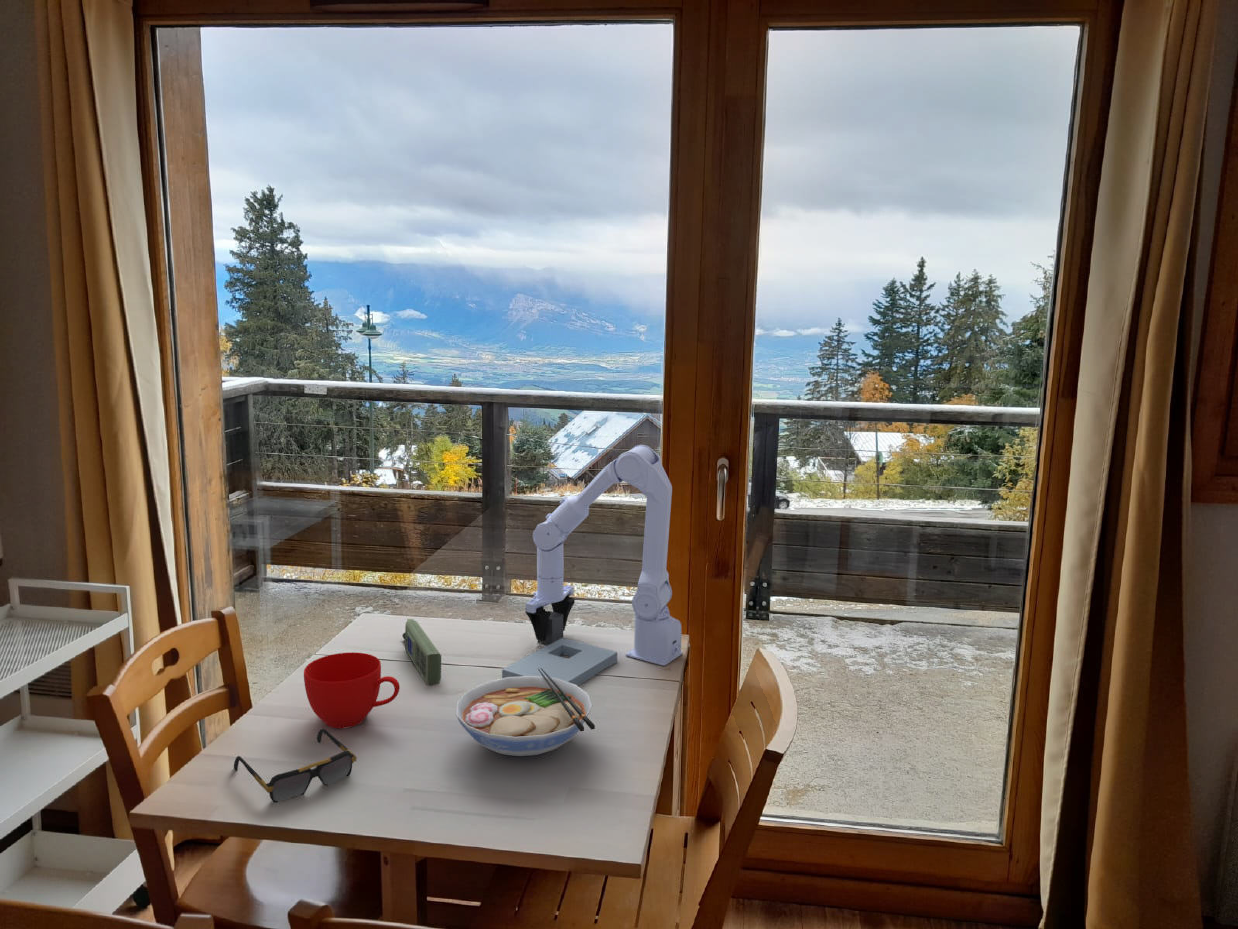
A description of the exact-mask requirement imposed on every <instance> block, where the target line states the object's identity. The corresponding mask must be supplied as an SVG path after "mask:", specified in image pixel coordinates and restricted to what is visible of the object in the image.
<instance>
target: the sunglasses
mask: <svg viewBox="0 0 1238 929" xmlns="http://www.w3.org/2000/svg"><path fill="white" fill-rule="evenodd" d="M323 734H324V735H326V736H327V737H328V738H329V740H330V741H331V742H333V744H335V746H337V747H338V748H339V749H340V750H341V752H340V753H337V754H335V755H333V756H330V757H328V758H326V759H322V760H318V761H316V762H313V763H311V764H307V765H305V766H302V767H299V768H297V769H292V770H290V771H285V772H283V773H278V774H275V775H273V777H271V779H270V780H269V782H268V783H267V782H265V781H264V779H263V778H262V777H261V776H260V774H258V773H257V772H256V771H255V770H254V769H253V768H252V766H250V764H249V763H248V762H247V761H246V760H245V759H243V757H241V755H237V756H236V757H235V758H234V759H235V760H234V762H233V770H234V771H235V772H237V771H238V769H239V764H240V763H239V762H241V763H242V765H243V766H244V768H245V769H246V770H247V771H248V772H249V774H250V775H251V776H252V777H253V778H254V780H255V781H257V783H258V784H259V786H261V787H262V788H263V790H264V791H266V793H268V794H269V798H270V799H271V801H272V803H275V804H276V803H278V802H280V801H284V800H288V799H292V797H293V798H297V797H298V796H303V795H304V794H305V793H306V792H307V789H308V788H309V787H310V786H309V785H310V784H311V782H312V780H313V779H314V778H318V779H319V780H320V782H321V783H322V785H323V786H324V787H328V786H329V785H330V784H333V783H335V782H337V781H339V780H342V779H343V778H345V777H350V775H351V773H352V771H353V770H352V769H353V764H354V763H355V762H356V761H357V755H356V754H354V753H353V751H351V750H350V749H349V748H348V747H346V746H345V745H344V744H343V743H342V742H341V741H339V740H338V739H337V738H336V737H335V736H334V735H332V734H331V733H330V732H328V731H327V730H326V729H325V728H321V729H319V731H318V732H317V735H316V742H317V743H319V744H320V743H321V741H322V737H323Z"/></svg>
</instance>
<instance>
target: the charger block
mask: <svg viewBox="0 0 1238 929" xmlns="http://www.w3.org/2000/svg"><path fill="white" fill-rule="evenodd" d="M547 611H548V612H551V615H550V617H549V620H548V625H547V636H546V640H545V641H541V640H537V643H541V644H543V645H546V646H548V645H550V644H551V643H553V642H555V641H557V640H559V639H561V638H564V631H563V614H560V613H556V612H553V610H552V611H551V610H547Z"/></svg>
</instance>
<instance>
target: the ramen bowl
mask: <svg viewBox="0 0 1238 929" xmlns="http://www.w3.org/2000/svg"><path fill="white" fill-rule="evenodd" d="M538 670H539V668H538ZM541 670H542V671H543V672H544V673H545V674H546V676H547V677H545V676H544V675H543V674H542V672H541V671H540V670H539V672H540V673H541V675H542V676H543V677H539V676H520V677H506V678H499V679H493V680H490V681H486V682H483V683H481V684H479V685H477V686H474V687H473V688H471V689H469V690H467V691H465V692H464V693H463V694H462V696H461V697H459V699H458V700H457V701H456V703H455V716H456V718H457V719H458V720H457V721H458V722H459V723H460V725H461V726H462V727H463V729H464V730H465V731H466V733H468V734H469V735H470V736H471V737H472V738H473V739H474V740H475V741H476V742H477V743H478V744H479V745H480V746H481V747H484V748H486V749H488V750H491V751H493V752H496V753H498V754H501V755H507V756H513V757H514V756H515V757H525V756H527V757H528V756H537V755H540V754H541V755H542V754H544V753H548V752H550V751H554V750H555V749H558V748H560V747H561V746H563V745H564V744H566V743H567V742H569V741H570V740H572V739H573V738H574V737H575V736H576V735H577V734H578V732H584V731H585V727H584V724H586V725H587V726H588V728H589V729H590V730H595V729H596V725H595V724H594V722H593V721H592V720H590V718H589V717H588V716H589V715H590V712H591V710H592V708H593V703H592V699H591V697H590V694H589V693H588V692H586V691H585V690H584V689H582V688H581V687H579V685H578V686H577V685H575V684H572V683H569V682H566V681H563V680H560V679H557V678H550V677H549V676H548V675H547V673H546V672H545V671H544V670H543V669H542V668H541Z"/></svg>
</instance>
